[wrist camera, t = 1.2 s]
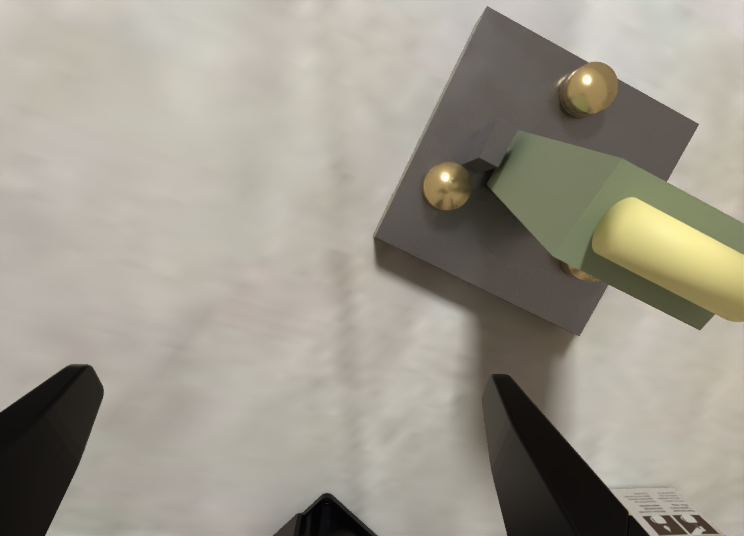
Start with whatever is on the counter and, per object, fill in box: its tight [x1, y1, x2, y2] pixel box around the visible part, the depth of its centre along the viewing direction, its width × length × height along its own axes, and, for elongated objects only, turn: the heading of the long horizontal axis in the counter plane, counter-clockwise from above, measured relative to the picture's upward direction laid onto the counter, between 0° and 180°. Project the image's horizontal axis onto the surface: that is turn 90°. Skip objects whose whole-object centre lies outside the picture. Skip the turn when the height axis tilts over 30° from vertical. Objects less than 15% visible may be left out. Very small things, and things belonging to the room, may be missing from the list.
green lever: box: [486, 130, 744, 330], centre depth 16 cm, size 3×5×13 cm, turn 64°
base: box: [373, 6, 699, 336], centre depth 22 cm, size 13×13×5 cm
